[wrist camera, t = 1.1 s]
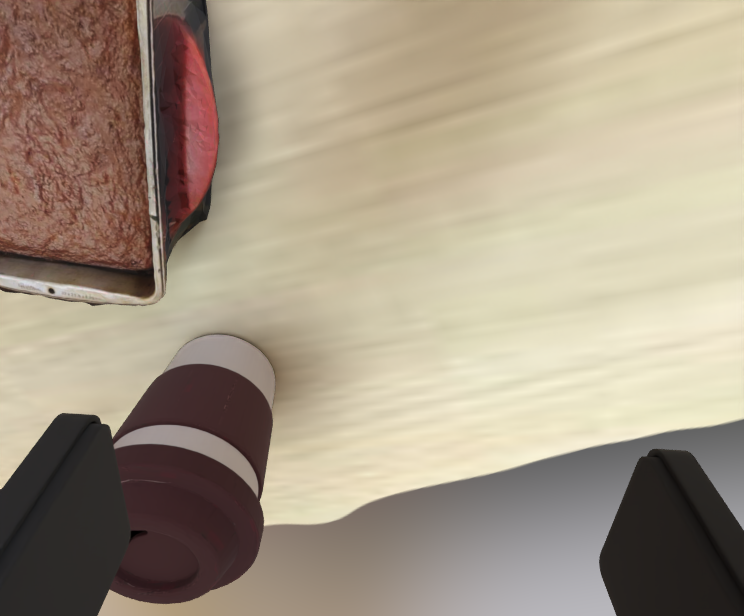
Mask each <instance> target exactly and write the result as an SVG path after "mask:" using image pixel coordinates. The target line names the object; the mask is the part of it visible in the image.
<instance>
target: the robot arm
mask: <svg viewBox="0 0 744 616" xmlns="http://www.w3.org/2000/svg"><path fill="white" fill-rule="evenodd" d="M130 535H131V528H130V522H129V518H128V513H127V508H126V503H125V498H124V493H123V488H122V484H121V479H120V474H119V469H118V464H117V459H116V455H115V450H114V445H113V440H112V435H111V430H110V427H109V426H108V425H106V424H101V421H100V419H99V417H98V416H96V415H84V414H68V413H62V414H60V415H58V416H57V417H56V418H55V419H54V420H53V422H52V423H51V424H50V426H49V427H48V428H47V430H46V431H45V432H44V434H43V435H42V436H41V438H40V439H39V440H38V442H37V443H36V444H35V446H34V447H33V448H32V450H31V451H30V452H29V454H28V455H27V456H26V458H25V459H24V460H23V462H22V463H21V464H20V466H19V467H18V468H17V470H16V471H15V472H14V474H13V475H12V476H11V478H10V479H9V480H8V482H7V483H6V484H5V486H4V487H3V488H2V489H0V616H97V615H98V613H99V611H100V609H101V606H102V604H103V602H104V600H105V597H106V595H107V593H108V591H109V589H110V586H111V584H112V582H113V580H114V577H115V575H116V573H117V571H118V569H119V566H120V564H121V562H122V560H123V557H124V555H125V553H126V551H127V548H128V545H129V541H130ZM599 564H600V571H601V575H602V578H603V581H604V583H605V586H606V589H607V591H608V594H609V597H610V599H611V602H612V605H613V607H614V610H615V612H616V615H617V616H744V530H743V529H742V527H741V526H740V524H739V523H738V521H737V520H736V518H735V517H734V515H733V514H732V512H731V511H730V510H729V508H728V506H727V505H726V503H725V502H724V501H723V499H722V498H721V496H720V495H719V493H718V492H717V490H716V489H715V487H714V486H713V484H712V483H711V481H710V480H709V478H708V477H707V475H706V474H705V473H704V471H703V469H702V468H701V466H700V465H699V464H698V462H697V460H696V459H695V457H694V456H693V455H692V454H691V453H689V452H688V451H681V450H665V449H652V450H651V451H650V452H649V453H648V455H647V457H641V458H640V459H639V461H638V462H637V465H636V467H635V470H634V472H633V475H632V477H631V480H630V482H629V485H628V487H627V490H626V492H625V494H624V497H623V500H622V502H621V504H620V507H619V509H618V512H617V514H616V516H615V519H614V521H613V524H612V527H611V529H610V531H609V534H608V536H607V539H606V541H605V544H604V546H603V548H602V551H601V554H600V560H599Z"/></svg>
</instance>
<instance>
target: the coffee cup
mask: <svg viewBox="0 0 744 616" xmlns="http://www.w3.org/2000/svg"><path fill="white" fill-rule="evenodd" d="M275 386H276V382H275V374H274V371H273V368H272V366H271V364H270V362H269V361H268V359H267V358H266V356H265V355H264V354H263V353H262V352H261V351H260V350H258V349H257V348H256V347H255V346H253V345H251V344H250V343H248V342H246V341H244V340H242V339H239V338H236V337H233V336H228V335H217V334H216V335H206V336H203V337H199V338H196V339H194V340H192V341H190V342H188V343H187V344H185V345H184V346H183V347H182V348H181V349H180V350H179V351H178V352H177V354H176V355H175V357H174V358H173V359H172V361H171V362H170V364H169V365H168V367H167V368H166V370H165V371H164V372H163V374H161V375H160V376H159V377H157V378H156V379H155V380H154V382H153V383H152V384H151V385H150V386H149V388H148V389H147V391H146V392H145V393H144V395H143V396H142V398H141V399H140V401H139V402H138V403H137V405H136V406H135V408H134V409H133V410H132V412H131V413H130V415H129V416H128V417H127V419H126V420H125V422H124V423H123V425H122V426H121V427H120V429H119V430H118V432H117V433H116V434H115V436H114V437H113V439H112V440H113V445H114V450H115V455H116V459H117V464H118V469H119V474H120V479H121V484H122V488H123V493H124V498H125V503H126V508H127V513H128V518H129V522H130V528H131V535H130V541H129V545H128V548H127V551H126V553H125V555H124V557H123V560H122V562H121V564H120V566H119V569H118V571H117V573H116V575H115V577H114V580H113V582H112V584H111V586H110V590H112V591H114V592H116V593H118V594H120V595H123V596H125V597H129V598H131V599H135V600H138V601H143V602H149V603H158V604H170V603H181V602H186V601H190V600H193V599H195V598H198V597H200V596H202V595H204V594H205V593H207V592H209V591H210V590H214V589H217V588H220V587H222V586H225V585H228V584H229V583H231V582H233V581H235V580H236V579H238V578H239V577H240V576H241V575H243V574H244V573H245V572H246V571H247V570H248V569H249V568H250V567H251V566H252V564H253V563H254V561H255V559H256V557H257V554H258V551H259V546H260V542H261V538H262V533H263V527H264V517H263V511H262V508H261V505H260V502H259V501H260V498H261V495H262V492H263V485H264V478H265V472H266V465H267V459H268V452H269V446H270V439H271V433H272V426H273V419H272V405H273V399H274V393H275Z"/></svg>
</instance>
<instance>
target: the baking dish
mask: <svg viewBox="0 0 744 616" xmlns="http://www.w3.org/2000/svg"><path fill="white" fill-rule="evenodd" d="M218 123H219V120H218V114H217V107H216V101H215V94H214V87H213V80H212V73H211V58H210V43H209V27H208V14H207V6H206V0H0V290H2V291H5V292H12V293H25V294H30V295H42V296H45V297H48V298H53V299H58V300H64V301H70V302H85V303H88V304H90V305H92V306H95V305H103V304H118V305H132V306H136V305H141V306H145V305H151V304H155V303H157V302H158V301H159V300H160V299H161V298H162V297H163V296H164V295H165V290H166V280H167V261H168V259H169V256H170V254H171V251H172V249H173V247H174V246H175V244H176V243H177V241H178V240H179V239H180V238H181V237H183V236H184V235H185V234H186V233H187V232H188V231H190V230H191V229H192V228H193V227H194V226H196V225H197V224H198V223H199V222H201V221H204V220H207V216H208V212H209V209H210V203H211V182H212V178H213V175H214V171H215V167H216V162H217V154H218V145H219V133H218Z"/></svg>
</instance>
